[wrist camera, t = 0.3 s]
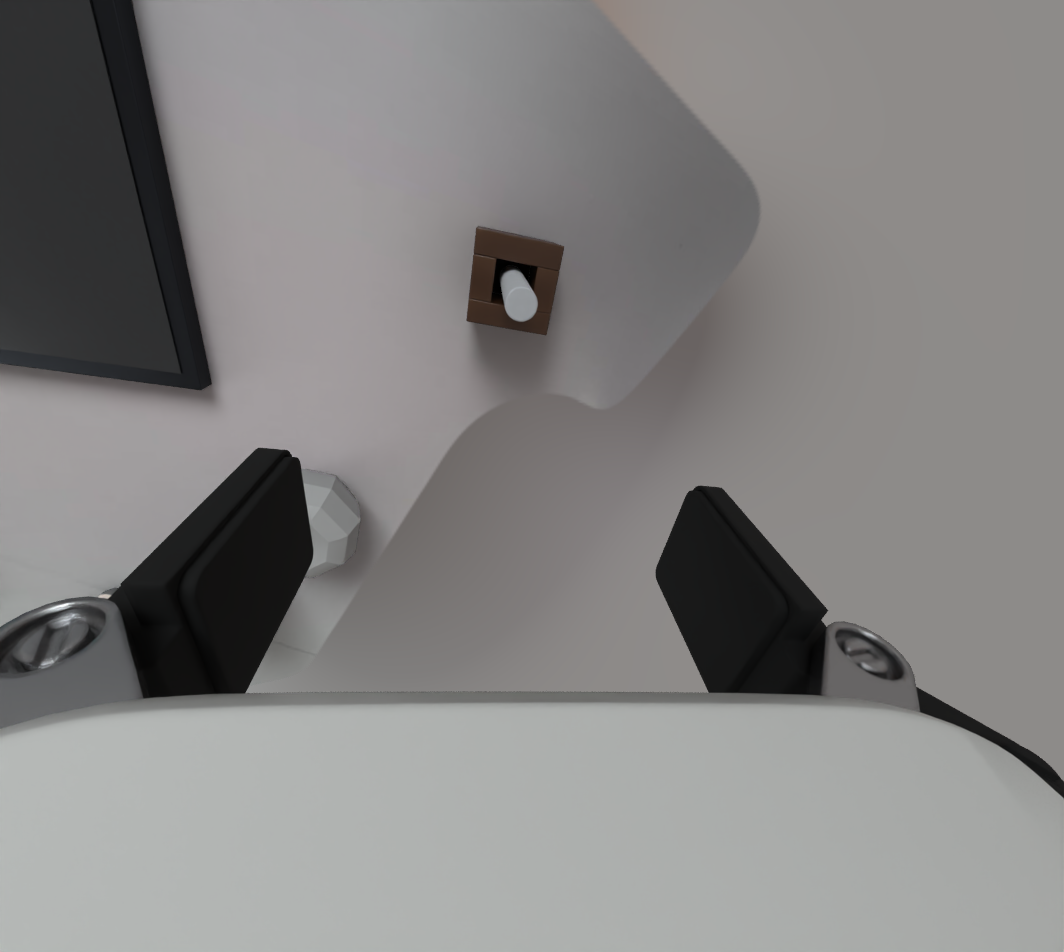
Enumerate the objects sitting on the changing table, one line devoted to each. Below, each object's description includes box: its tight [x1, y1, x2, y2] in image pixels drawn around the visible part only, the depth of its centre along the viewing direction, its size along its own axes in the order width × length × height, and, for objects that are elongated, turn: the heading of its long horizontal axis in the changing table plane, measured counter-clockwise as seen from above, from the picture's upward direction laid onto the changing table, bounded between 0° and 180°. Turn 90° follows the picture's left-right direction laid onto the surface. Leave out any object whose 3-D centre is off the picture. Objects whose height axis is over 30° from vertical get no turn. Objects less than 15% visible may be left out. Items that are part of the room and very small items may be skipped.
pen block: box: [467, 226, 564, 335], centre depth 24 cm, size 5×5×4 cm
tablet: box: [0, 0, 211, 390], centre depth 21 cm, size 20×13×1 cm, turn 169°
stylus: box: [500, 265, 538, 322], centre depth 22 cm, size 1×1×10 cm
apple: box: [301, 469, 361, 578], centre depth 30 cm, size 8×8×7 cm
